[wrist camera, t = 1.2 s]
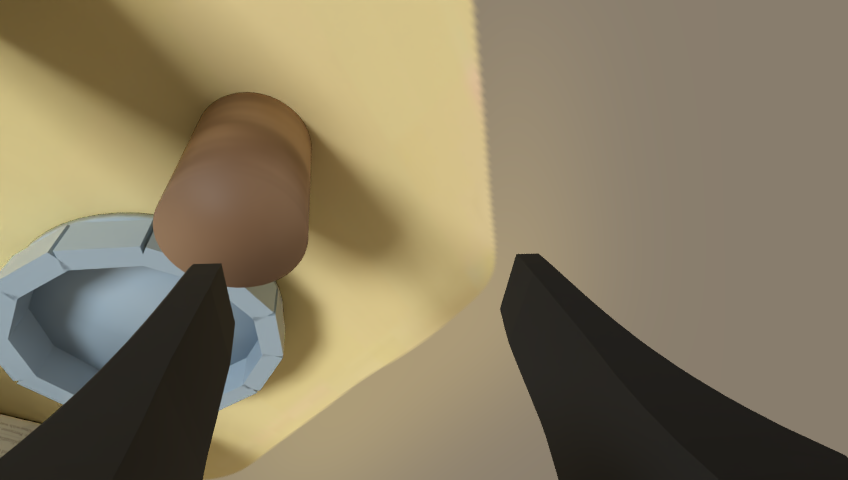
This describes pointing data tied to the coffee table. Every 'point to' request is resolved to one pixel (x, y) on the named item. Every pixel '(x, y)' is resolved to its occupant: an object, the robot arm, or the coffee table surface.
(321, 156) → the coffee table surface
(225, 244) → the brown cylinder
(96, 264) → the round tray
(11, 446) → the skincare box
